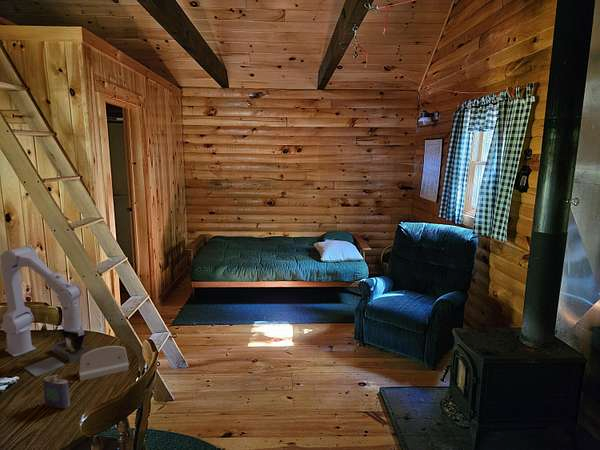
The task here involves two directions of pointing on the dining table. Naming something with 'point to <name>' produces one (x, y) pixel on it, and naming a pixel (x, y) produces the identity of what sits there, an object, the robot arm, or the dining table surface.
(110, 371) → the grey rounded block
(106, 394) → the dining table surface
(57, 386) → the flask
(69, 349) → the tan rectangular block
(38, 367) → the mat
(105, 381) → the dining table surface
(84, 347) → the double cubby frame
